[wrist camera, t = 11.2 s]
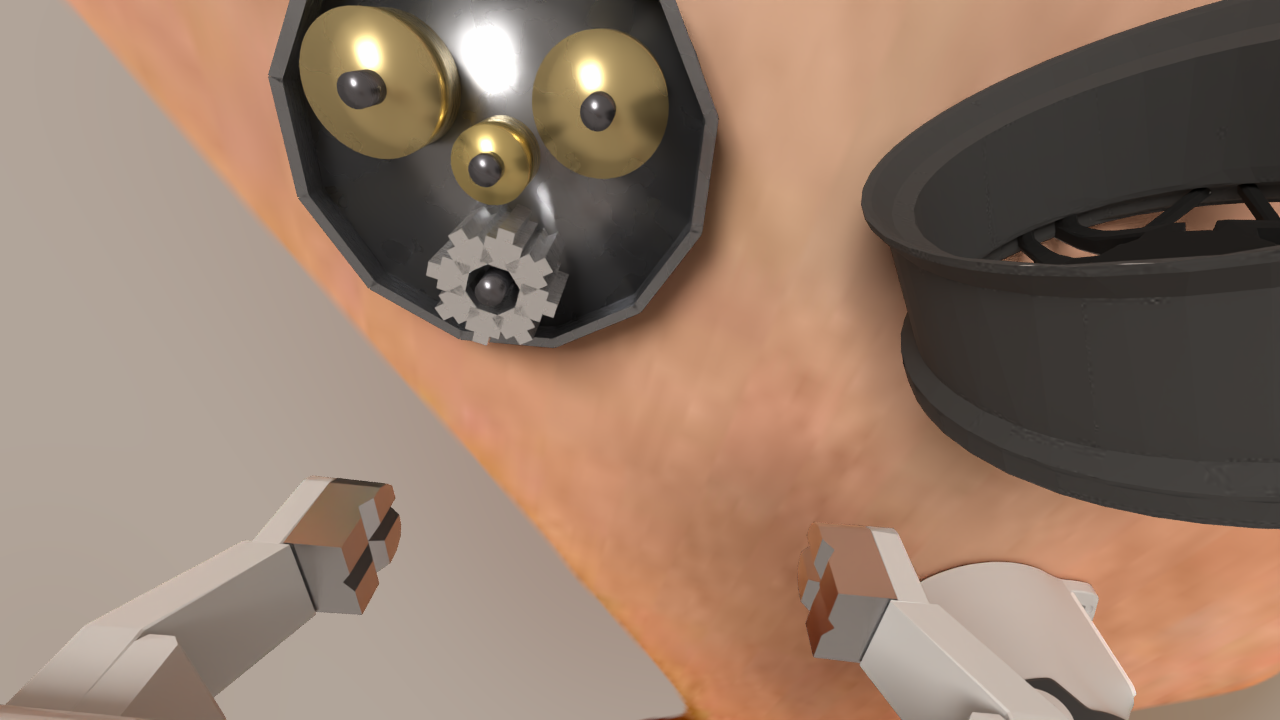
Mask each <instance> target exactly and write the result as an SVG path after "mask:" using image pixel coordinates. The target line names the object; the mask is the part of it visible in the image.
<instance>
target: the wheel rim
mask: <svg viewBox="0 0 1280 720" xmlns="http://www.w3.org/2000/svg"><path fill="white" fill-rule="evenodd" d="M1269 202H1280V0H1222V1H1219V2H1215V3H1212V4H1208V5H1204V6H1201V7H1197V8H1194V9H1191V10H1188V11H1185V12H1181V13H1178V14H1175V15H1172V16H1169V17H1166V18H1162V19H1159V20H1156V21H1153V22H1150V23H1147V24H1144V25H1141V26H1138V27H1135V28H1132V29H1129V30H1126V31H1124V32H1121V33H1118V34H1115V35H1112V36H1109V37H1106V38H1104V39H1101V40H1098V41H1096V42H1093V43H1090V44H1088V45H1085V46H1082V47H1080V48H1077V49H1075V50H1072V51H1069V52H1067V53H1064V54H1062V55H1059V56H1057V57H1054V58H1052V59H1049V60H1047V61H1045V62H1042V63H1040V64H1038V65H1035V66H1033V67H1031V68H1029V69H1026V70H1024V71H1022V72H1019V73H1017V74H1015V75H1013V76H1011V77H1009V78H1006V79H1004V80H1002V81H1000V82H998V83H996V84H994V85H992V86H990V87H988V88H986V89H984V90H982V91H980V92H978V93H976V94H974V95H972V96H970V97H968V98H966V99H965V100H963V101H961V102H959V103H958V104H956V105H954V106H952V107H951V108H949V109H947V110H946V111H944V112H942V113H940V114H939V115H937V116H936V117H934V118H933V119H931V120H930V121H928V122H926V123H925V124H923V125H922V126H921V127H919V128H918V129H916V130H915V131H914V132H912V133H911V134H909V135H908V136H907V137H906V138H904V139H903V140H902V141H901V142H900V143H898V144H897V145H896V146H895V147H894V148H893V149H892V150H891V151H890V152H888V153H887V154H886V155H885V156H884V157H883V158H882V159H881V161H880V162H879V163H878V164H877V165H876V167H875V168H874V169H873V170H872V172H871V173H870V175H869V177H868V179H867V181H866V183H865V185H864V187H863V191H862V201H861V206H862V210H863V213H864V217H865V220H866V222H867V223H868V225H869V227H870V228H871V230H872V231H873V232H874V233H875V234H876V235H877V236H879V237H880V238H881V239H882V240H883V241H884V242H885V243H887V244H888V245H889V246H890V248H891V251H892V255H893V259H894V262H895V266H896V270H897V274H898V277H899V281H900V285H901V288H902V292H903V296H904V300H905V303H906V307H907V311H908V312H907V315H906V317H905V320H904V324H903V328H902V332H901V353H902V357H903V364H904V367H905V371H906V374H907V378H908V381H909V384H910V386H911V388H912V391H913V393H914V395H915V397H916V400H917V402H918V403H919V404H920V406H921V407H922V409H923V410H924V412H925V413H926V414H927V416H928V417H929V418H930V419H931V420H932V421H933V422H934V423H935V424H936V425H937V426H938V427H939V428H940V429H941V431H942V432H943V433H944V434H946V435H947V436H948V437H950V438H951V439H953V440H954V441H955V442H957V443H958V444H959V445H961V446H962V447H963V448H965V449H966V450H967V451H969V452H970V453H972V454H973V455H975V456H977V457H979V458H981V459H982V460H984V461H986V462H988V463H990V464H991V465H993V466H995V467H997V468H999V469H1000V470H1002V471H1004V472H1006V473H1008V474H1010V475H1013V476H1015V477H1018V478H1021V479H1023V480H1026V481H1028V482H1031V483H1033V484H1036V485H1038V486H1041V487H1043V488H1046V489H1048V490H1051V491H1053V492H1056V493H1059V494H1062V495H1065V496H1069V497H1072V498H1076V499H1080V500H1083V501H1087V502H1090V503H1094V504H1097V505H1101V506H1105V507H1109V508H1114V509H1119V510H1124V511H1128V512H1133V513H1138V514H1143V515H1147V516H1152V517H1158V518H1166V519H1173V520H1180V521H1187V522H1194V523H1201V524H1212V525H1223V526H1235V527H1247V528H1262V529H1280V218H1279V216H1278V215H1277V213H1276V212H1275V211H1274V209H1273V208H1272V206H1271V205H1270V204H1269ZM1236 203H1245V204H1246V206H1247V207H1248V208H1249V210H1250V211H1251V213H1252V214H1253V216H1254V217H1255V218H1256V220H1220V221H1217V222H1216V225H1215V227H1214V229H1213V231H1212V230H1202V231H1186V226H1185V223H1174V222H1176V221H1177V220H1178V219H1180V218H1181V217H1182V216H1183V215H1185V214H1186V213H1187V212H1189V211H1190V210H1191V209H1193V208H1194V207H1199V206H1208V205H1220V204H1236ZM1160 211H1164V212H1163V213H1162V214H1161V215H1159V216H1158V217H1157V218H1155V219H1154V220H1153V221H1152V222H1150V223H1149V224H1148V225H1146V226H1145V227H1143V228H1135V229H1126V230H1117V231H1103V230H1096V229H1091V228H1088V227H1091V226H1094V225H1097V224H1101V223H1104V222H1108V221H1112V220H1116V219H1121V218H1126V217H1130V216H1135V215H1141V214H1147V213H1154V212H1160ZM1051 238H1055V239H1057V240H1060V241H1062V242H1064V243H1066V244H1068V245H1070V246H1072V247H1075V248H1077V249H1079V250H1082V251H1085V252H1089V253H1093V254H1096V255H1098V256H1091V257H1081V258H1072V257H1067V256H1063V255H1059V254H1057V253H1055V252H1053V251H1050V250H1049V249H1047V248H1046V247H1044V246H1043V245H1042V244H1040V243H1041V242H1044V241H1046V240H1049V239H1051ZM1019 251H1022V252H1023V253H1024V254H1026V255H1027V256H1028V257H1029V258H1030V259H1031V260H1033V261H1034V263H1026V262H1012V261H1001V260H1003V259H1005V258H1007V257H1009V256H1011V255H1013V254H1015V253H1017V252H1019Z"/></svg>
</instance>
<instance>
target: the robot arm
mask: <svg viewBox="0 0 1280 720" xmlns="http://www.w3.org/2000/svg"><path fill="white" fill-rule="evenodd" d="M394 500H395V495H394V491H393V488H392V486H391V485H389V484H385V483H376V482H368V481H359V480H349V479H342V478H329V477H320V476H310V477H308V478H306V479H304V480H303V481H302V482H301V483H300V484H299V486H298V487H297V488H296V489H295V490H294V492H293V493H292V494H291V495H290V496H289V497H288V499H287V500H286V501H285V502H284V503H283V505H282V506H281V507H280V508H279V509H278V511H277V512H276V513H275V514H274V515H273V517H272V518H271V519H270V520H269V521H268V522H267V524H266V525H265V526H264V528H263V529H262V530H261V531H260V532H259V533H258V534H257V535H256V537H255V538H254V539H253V540H252V541H246V540H244V541H242V542H240V543H238V544H236V545H234V546H232V547H231V548H229V549H227V550H225V551H223V552H221V553H219V554H217V555H216V556H214V557H212V558H210V559H208V560H206V561H204V562H202V563H201V564H199V565H197V566H195V567H193V568H191V569H189V570H187V571H185V572H184V573H182V574H180V575H178V576H176V577H174V578H172V579H170V580H169V581H167V582H165V583H163V584H161V585H159V586H157V587H156V588H154V589H152V590H150V591H148V592H146V593H144V594H142V595H140V596H139V597H137V598H135V599H133V600H131V601H129V602H127V603H125V604H124V605H122V606H120V607H118V608H116V609H114V610H112V611H111V612H109V613H107V614H105V615H103V616H101V617H99V618H97V619H95V620H94V621H92V622H90V623H88V624H86V625H85V626H84V627H83V628H82V629H81V630H80V631H79V632H78V633H77V634H76V635H75V636H74V637H73V638H72V639H71V640H70V641H69V642H68V643H67V644H66V645H65V646H64V647H63V648H62V649H61V650H60V651H59V652H58V653H57V654H56V655H55V656H54V657H53V658H52V659H51V660H50V661H49V662H48V663H47V664H46V665H45V666H44V667H43V668H42V669H41V670H40V671H39V672H38V673H37V674H36V675H35V676H34V677H33V678H32V679H31V680H30V681H29V682H28V683H27V684H26V685H25V686H24V687H23V688H22V689H21V690H20V691H19V692H18V693H17V694H16V695H15V696H14V697H13V698H12V699H11V700H10V701H9V702H8V703H7V704H6V705H0V720H226V717H225V716H224V714H223V712H222V711H221V709H220V708H219V706H218V704H217V703H216V701H215V700H214V697H215V696H216V695H217V694H218V693H220V692H221V691H222V690H224V689H225V688H226V687H227V686H228V685H230V684H231V683H232V682H233V681H235V680H236V679H237V678H238V677H240V676H241V675H242V674H243V673H244V672H245V671H247V670H248V669H249V668H251V667H252V666H253V665H254V664H256V663H257V662H258V661H259V660H260V659H262V658H263V657H264V656H265V655H267V654H268V653H269V652H270V651H272V650H273V649H274V648H275V647H277V646H278V645H279V644H280V643H281V642H283V641H284V640H285V639H286V638H288V637H289V636H290V635H291V634H293V633H294V632H295V631H296V630H297V629H299V628H300V627H301V626H302V625H304V624H305V623H306V622H307V621H309V620H310V619H311V618H312V617H313V616H315V615H316V612H327V613H342V614H358V615H362V614H363V612H364V610H365V609H366V607H367V605H368V603H369V601H370V599H371V598H372V596H373V594H374V592H375V590H376V588H377V586H378V585H379V581H378V577H377V572H378V571H380V570H381V569H383V568H384V567H385V566H387V565H388V564H390V562H391V561H392V559H393V557H394V555H395V553H396V551H397V547H398V543H399V540H400V536H401V522H400V517H399V514H398V513H397V512H395V510H394V509H393V508H391V505H392V503H393V501H394ZM807 539H808V543H809V547H807V548H806V549H804V550H803V551H802V552H801V555H800V559H799V563H798V574H797V580H798V590H799V595H800V600H801V602H802V603H803V604H804V605H805V607H806V608H807V609H808V610H809V611H810V612H809V615H808V618H807V621H806V627H807V632H808V636H809V640H810V645H811V649H812V654H813V657H815V658H824V659H832V660H840V661H848V662H856V663H860V666H861V668H862V669H863V670H864V672H865V673H866V674H867V676H868V677H869V678H870V679H871V681H872V682H873V683H874V685H875V686H876V687H877V689H878V690H879V691H880V692H881V694H882V695H883V696H884V698H885V699H886V700H887V701H888V703H889V704H890V705H891V707H892V708H893V709H894V711H895V712H896V713H897V714H898V716H899V717H900V718H901V720H1129V717H1130V712H1131V710H1132V708H1133V705H1134V698H1133V697H1134V696H1135V695H1136V691H1135V688H1134V686H1133V684H1132V682H1131V681H1130V679H1129V677H1128V676H1127V674H1126V673H1125V671H1124V670H1123V668H1122V667H1121V665H1120V663H1119V662H1118V660H1117V659H1116V657H1115V656H1114V654H1113V653H1112V651H1111V649H1110V648H1109V646H1108V645H1107V643H1106V642H1105V640H1104V639H1103V637H1102V636H1101V634H1100V633H1099V631H1098V629H1097V628H1096V626H1095V625H1094V623H1093V622H1092V621H1093V617H1094V614H1095V610H1096V607H1097V604H1098V599H1099V598H1098V595H1097V594H1096V592H1095V590H1094V589H1093V587H1092V586H1091V585H1090V584H1088V583H1085V582H1080V581H1073V580H1064V579H1059V578H1056V577H1054V576H1052V575H1050V574H1048V573H1046V572H1044V571H1042V570H1040V569H1038V568H1035V567H1032V566H1028V565H1024V564H1019V563H1011V562H986V563H977V564H970V565H965V566H961V567H957V568H953V569H950V570H947V571H944V572H941V573H938V574H936V575H934V576H931V577H929V578H927V579H925V580H923V581H922V582H920V581H919V578H918V576H917V574H916V572H915V570H914V567H913V565H912V563H911V561H910V559H909V556H908V554H907V552H906V550H905V547H904V545H903V543H902V541H901V539H900V536H899V534H898V532H896V531H895V530H894V529H893V528H883V527H871V526H866V527H865V526H860V525H847V524H835V523H822V522H813V523H812V524H811V526H810V527H809V530H808V533H807Z"/></svg>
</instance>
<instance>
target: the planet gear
mask: <svg viewBox="0 0 1280 720" xmlns="http://www.w3.org/2000/svg"><path fill="white" fill-rule="evenodd" d="M531 212H532V209H530V208H527V207H525V206H522V205H519V204H517V205H516V207H515V208H514V209H513V210H512V212H511V213H510V212H507V211H506V212H505V213H504V214H503V215H502V216H501V214H500V213H499V211H498V212H496V213H494V214H492V215H490V213H489V211H488V210H487V208H486V206H485V205H484V206H482V207H480V208H478V209H476V210H474V211H472V212H471V213H470V214H469V215H468V216H467V217H466V218H465V219H464V220H463V221H462V222H461V223H460V224H459V225H458V226H457V227H456V228H455V229H454V230H453V231H452V232H451V233H450V234H449V235H448V237H449V238H450V240H449V241H448V242H447V243H446V244H445V245H444V246H443V247H442V248H441V249H440V250H439V251H438V252H437V253H436V254H435V255H434V256H433V257H432V258H431V259H430V260H429V261H428V267H427V273H426V276H429V277H432V278H435V279H438V282H437V288H438V289H441V290H442V291H441V293H440V294H439V295H438V296H439V297H440V298H441V300H440V302H439V303H438V304H437V305H436V307H435V309H436V310H437V312H438V313H439V315H440V316H441V317H442V319H443V320H446V319H448V318H450V317H452V316H453V317H454V318H455V320H456V321H457V322H458V324H460V323H462V322H464V321H467V322H466V327H465V329H468V330H471V331H474V336H473V340H472V341H474V342H477V343H480V344H483V345H488V343H489V341H490V339H491V337H492V338H496V339H499V338H500V336H501V334H503V336H504V337H505V339H508V338H510V337H513V336H514V337H515V338H516V340H517V341H518V343H519V344H520V345H521V344H523V343H526V342H528V341H531V340H533V338H534V335H535V333H536V330H537V328H538V326H539V323H540V321H541V318H542V316H543V315H546V316H549V317H552V318H554V315H555V312H556V309H557V307H558V304H559V301H560V299H561V296H562V293H563V290H564V288H565V285H566V282H567V278H568V275H569V274H567V273H564V272H561V271H559V268H560V265H561V263H560V262H558V260H559V258H560V255H561V253H562V251H563V248H564V246H565V243H564V241H563V239H562V237H561V236H560V234H559V232H556V233H554V234H552V235H548V234H547V232H546V230H545V228H542V229H540V230H538V231H536V229H537V226H538V222H535V221H532V220H529V219H530V215H531ZM488 264H489V265H492V266H495V267H497V268H500V269H503V270H506V271H509V273H510V274H511V276H512V278H513V279H514V281H515V282H516V284H514V283H512V284H511V285H510V287H509V289H508V291H507V292H506V294H505V296H504V298H503V299H502V301H501V302H500V303H499V304H498V305H496V306H492V307H491V306H486V305H483V304H482V303H480V302H479V301H478V300H477V298H476V296H475V287H476V286H477V284H478V283H479V281H480V280H481V279H482V277H483V276H484V274H485V273H486V271H487V270H488V269H489V267H490V266H489V265H488Z"/></svg>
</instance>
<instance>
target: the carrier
mask: <svg viewBox="0 0 1280 720" xmlns="http://www.w3.org/2000/svg"><path fill="white" fill-rule="evenodd" d="M268 75H269V77H268V78H269V82H270V86H271V90H272V94H273V98H274V102H275V107H276V111H277V115H278V119H279V123H280V127H281V131H282V135H283V139H284V143H285V148H286V152H287V156H288V160H289V164H290V168H291V172H292V176H293V180H294V184H295V189H296V193H297V197H299V198H298V199H299V200H300V201H301V202H302V204H303V205H304V206H305V208H306V209H307V210H308V211H309V213H310V214H311V215H312V216H313V218H314V219H315V220H316V222H317V223H318V224H319V225H320V227H321V228H322V229H323V231H324V232H325V233H326V234H327V236H328V237H329V238H330V240H331V241H332V242H333V243H334V245H335V246H336V247H337V248H338V250H339V251H340V252H341V254H342V255H343V256H344V257H345V259H346V260H347V261H348V263H349V264H350V265H351V266H352V268H353V269H354V270H355V272H356V273H357V274H358V275H359V277H360V278H361V279H362V280H363V282H364V283H365V284H366V286H367V287H368V288H370V290H372V291H374V292H376V293H377V294H379V295H381V296H383V297H385V298H386V299H388V300H390V301H392V302H394V303H395V304H397V305H399V306H401V307H402V308H404V309H406V310H408V311H410V312H411V313H413V314H415V315H417V316H419V317H420V318H422V319H424V320H426V321H428V322H429V323H431V324H433V325H435V326H436V327H438V328H440V329H442V330H444V331H445V332H447V333H449V334H451V335H453V336H454V337H456V338H458V339H461V340H470V341H472V340H473V336H474V331H471V330H468V329H465V327H466V322H467V321H464V322H462V323H460V324H458V322H457V321H456V320H455V318H454V317H453V316H452V317H450V318H448V319H446V320H443V319H442V317H441V316H440V315H439V313H438V312H437V310H436V309H435V307H436V305H437V304H438V303H439V302H440V300H441V298H440V297H439V296H438V295H439V294H440V293H441V291H442V290H441V289H438V288H437V282H438V279H435V278H432V277H429V276H426V273H427V267H428V261H429V260H430V259H431V258H432V257H433V256H434V255H435V254H436V253H437V252H438V251H439V250H440V249H441V248H442V247H443V246H444V245H445V244H446V243H447V242H448V241H449V240H450V238H449V237H448V235H449V234H450V233H451V232H452V231H453V230H454V229H455V228H456V227H457V226H458V225H459V224H460V223H461V222H462V221H463V220H464V219H465V218H466V217H467V216H468V215H469V214H470V213H471V212H472V211H474V210H476V209H478V208H480V207H482V206H484V205H485V206H486V208H487V210H488V211H489V213H490V215H492V214H494V213H496V212H498V211H499V213H500V214H501V216H502V215H503V214H504V213H505V212H506V211H507V212H510V213H511V212H512V210H513V209H514V208H515V207H516V205H517V204H519V205H522V206H525V207H527V208H530V209H532V212H531V215H530V219H529V220H532V221H535V222H538V226H537V229H536V231H538V230H540V229H542V228H545V230H546V232H547V234H548V235H552V234H554V233H556V232H559V234H560V236H561V237H562V239H563V241H564V243H565V246H564V248H563V251H562V253H561V255H560V258H559V260H558V262H560V263H561V265H560V268H559V271H561V272H564V273H567V274H569V275H568V278H567V282H566V285H565V288H564V290H563V293H562V296H561V299H560V301H559V304H558V307H557V309H556V312H555V315H554V318H552V317H549V316H546V315H543V316H542V318H541V321H540V323H539V326H538V328H537V330H536V333H535V335H534V338H533V340H531V341H528V342H526V343H523V344H521V345H527V346H538V347H550V348H554V347H555V348H556V347H558V346H561V345H563V344H566V343H568V342H571V341H573V340H575V339H578V338H580V337H583V336H585V335H588V334H590V333H593V332H595V331H597V330H600V329H602V328H605V327H607V326H610V325H612V324H615V323H617V322H619V321H622V320H624V319H627V318H629V317H632V316H634V315H636V314H639V313H640V312H642V310H643V309H644V308H645V307H646V305H647V304H648V303H649V301H650V300H651V299H652V298H653V296H654V295H655V294H656V292H657V291H658V290H659V289H660V287H661V286H662V285H663V283H664V282H665V281H666V280H667V278H668V277H669V276H670V274H671V273H672V272H673V271H674V269H675V268H676V267H677V266H678V264H679V263H680V262H681V260H682V259H683V258H684V257H685V255H686V254H687V253H688V251H689V250H690V249H691V248H692V246H693V245H694V244H695V242H696V241H697V240H698V239H699V237H700V236H701V233H702V230H703V223H704V217H705V210H706V203H707V196H708V189H709V182H710V175H711V168H712V161H713V154H714V148H715V141H716V134H717V127H718V120H719V118H718V114H717V112H716V109H715V106H714V104H713V101H712V98H711V95H710V93H709V90H708V87H707V85H706V82H705V79H704V76H703V74H702V71H701V67H700V64H699V61H698V57H697V54H696V52H695V49H694V47H693V45H692V42H691V40H690V38H689V36H688V33H687V30H686V28H685V25H684V22H683V19H682V17H681V14H680V11H679V9H678V6H677V3H676V1H675V0H290V1H289V5H288V8H287V12H286V15H285V19H284V22H283V26H282V29H281V32H280V36H279V39H278V43H277V46H276V50H275V53H274V57H273V60H272V64H271V67H270V70H269V74H268ZM488 265H489V264H488ZM489 266H490V267H489V269H488V270H487V271H486V273H485V274H484V276H483V277H482V279H481V280H480V281H479V283H478V284H477V286H476V287H475V296H476V298H477V300H478V301H479V302H480V303H482V304H483V305H486V306H491V307H492V306H496V305H498V304H499V303H500V302H501V301H502V299H503V298H504V296H505V294H506V292H507V291H508V289H509V287H510V285H511V284H512V283H514V284H516V282H515V281H514V279H513V278H512V276H511V274H510V273H509V271H506V270H503V269H500V268H497V267H495V266H492V265H489ZM489 342H493V343H504V344H516V345H520V344H519V343H518V341H517V340H516V338H515V337H514V336H513V337H510V338H508V339H505V337H504V336H503V334H501V336H500V338H499V339H496V338H492V337H491V339H490V341H489Z"/></svg>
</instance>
